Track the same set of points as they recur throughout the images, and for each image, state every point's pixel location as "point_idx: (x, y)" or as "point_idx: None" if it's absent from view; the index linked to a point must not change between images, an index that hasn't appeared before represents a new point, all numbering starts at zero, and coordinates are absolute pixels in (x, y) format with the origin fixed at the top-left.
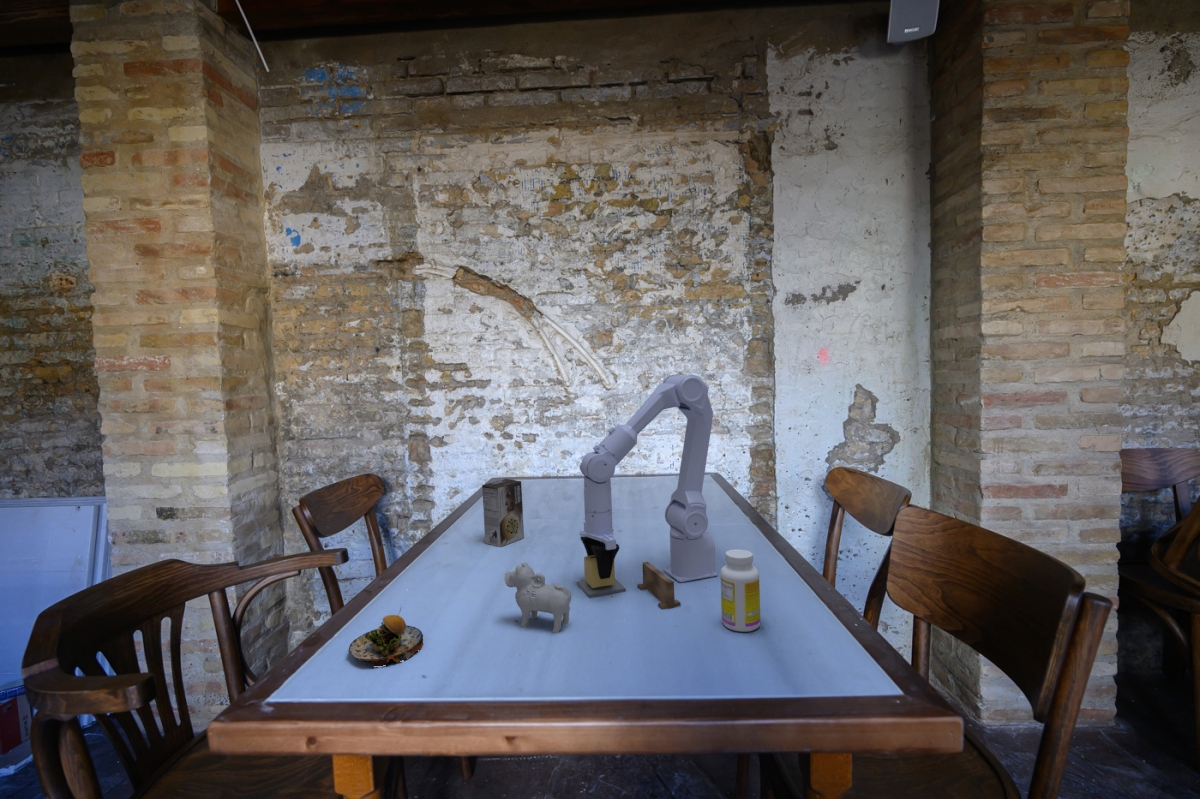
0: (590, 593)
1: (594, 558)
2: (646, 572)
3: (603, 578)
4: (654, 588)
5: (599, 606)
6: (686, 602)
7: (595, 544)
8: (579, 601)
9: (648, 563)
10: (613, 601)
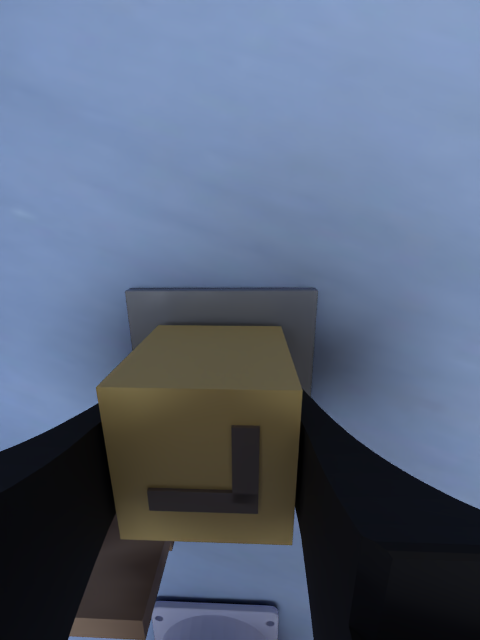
0: (136, 302)
1: (217, 447)
2: (109, 577)
3: None
4: None
5: (31, 301)
6: None
7: (320, 579)
8: (104, 234)
9: (120, 634)
10: (67, 367)
